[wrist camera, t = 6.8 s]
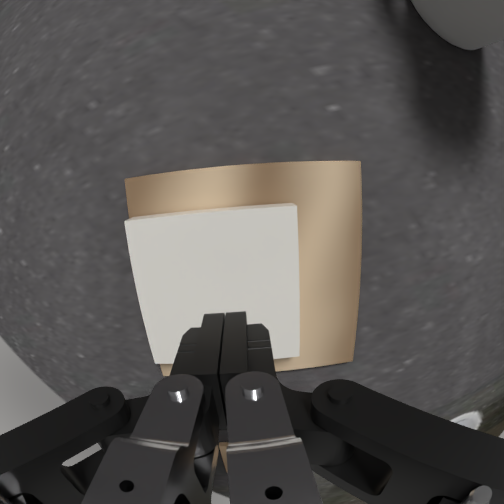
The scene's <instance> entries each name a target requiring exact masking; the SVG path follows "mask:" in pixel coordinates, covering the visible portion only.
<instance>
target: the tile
mask: <svg viewBox="0 0 504 504" xmlns="http://www.w3.org/2000/svg"><path fill="white" fill-rule="evenodd" d="M124 222H125V229H126V236H127V242H128V248H129V254H130V259H131V265H132V270H133V275H134V280H135V285H136V290H137V295H138V299H139V304H140V308H141V312H142V316H143V320H144V324H145V328H146V332H147V336H148V340H149V344H150V347H151V351H152V354H153V358H154V361H155V364H173V363H174V360H175V357H176V354H177V351H178V348H179V346H180V342H181V339H182V336H183V334H185V333H186V332H187V331H188V330H189V329H190V328H195V327H201V324H202V320H203V316H204V314H210V313H225V315H226V312H241V311H246V316H247V324H260V323H262V324H263V325H264V326H265V327H266V328H267V329H268V330H269V335H270V341H271V348H272V353H273V359H280V358H289V357H298V356H300V290H299V246H298V218H297V205H295V204H293V203H282V204H267V205H252V206H239V207H227V208H215V209H204V210H194V211H184V212H174V213H165V214H156V215H147V216H138V217H132V218H130V219H128V220H126V221H124Z"/></svg>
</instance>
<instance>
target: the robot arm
mask: <svg viewBox="0 0 504 504" xmlns="http://www.w3.org/2000/svg"><path fill="white" fill-rule="evenodd" d="M219 430H228V446H227V449H226V455H227V470H228V483H229V496H230V504H323V503H322V500H321V497H320V494H319V491H318V488H317V484H316V481H315V478H314V475H313V472H312V470H313V471H314V472H315V473H317V474H319V475H320V476H322V477H323V478H325V479H327V480H328V481H330V482H331V483H333V484H335V485H336V486H338V487H340V488H341V489H343V490H345V491H347V492H348V493H350V494H352V495H354V496H355V497H357V498H359V499H361V500H363V501H365V502H366V503H368V504H504V439H503V438H499V437H496V436H493V435H490V434H486V433H483V432H480V431H477V430H474V429H471V428H468V427H465V426H462V425H459V424H457V423H454V422H451V421H448V420H445V419H443V418H440V417H437V416H435V415H432V414H429V413H427V412H424V411H422V410H419V409H417V408H414V407H412V406H409V405H407V404H404V403H402V402H399V401H397V400H394V399H392V398H390V397H387V396H385V395H383V394H380V393H378V392H376V391H373V390H371V389H369V388H367V387H364V386H362V385H360V384H358V383H356V382H353V381H349V380H343V379H337V380H330V381H327V382H324V383H322V384H320V385H319V386H318V387H317V388H316V389H315V390H314V391H313V393H308V392H299V391H294V390H291V389H289V388H287V387H285V386H283V385H282V384H281V383H280V382H279V381H278V379H277V377H276V371H275V365H274V359H273V353H272V348H271V341H270V335H269V330H268V329H267V328H266V327H265V326H264V325H263V324H262V323H260V324H247V316H246V311H241V312H226V315H225V313H210V314H204V316H203V320H202V324H201V327H195V328H190V329H189V330H188V331H187V332H186V333H185V334H183V336H182V339H181V342H180V346H179V348H178V351H177V354H176V357H175V360H174V363H173V366H172V369H171V372H170V375H169V376H168V377H165V378H163V379H162V380H160V381H159V382H158V383H157V384H156V385H155V386H154V388H153V390H152V392H151V394H150V395H149V396H146V397H141V398H135V399H129V400H125V398H124V396H123V394H122V393H121V391H119V390H118V389H116V388H113V387H99V388H95V389H92V390H90V391H88V392H86V393H84V394H83V395H81V396H79V397H77V398H75V399H73V400H71V401H69V402H67V403H65V404H63V405H62V406H59V407H58V408H55V409H53V410H52V411H50V412H48V413H46V414H44V415H42V416H40V417H38V418H36V419H33V420H32V421H30V422H27V423H25V424H23V425H21V426H19V427H17V428H15V429H13V430H11V431H8V432H7V433H4V434H2V435H0V504H211V494H212V488H213V482H214V476H215V470H216V464H217V458H218V452H219V447H218V436H219ZM96 443H98V444H99V445H100V447H101V448H102V449H101V450H99V451H97V452H96V453H94V454H92V455H91V456H89V457H87V458H85V459H84V460H82V461H80V462H78V463H77V464H75V465H73V466H69V467H67V466H63V465H62V463H63V462H64V461H66V460H67V459H69V458H71V457H73V456H75V455H76V454H78V453H80V452H82V451H84V450H85V449H87V448H89V447H91V446H92V445H94V444H96Z"/></svg>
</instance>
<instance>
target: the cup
mask: <svg viewBox="0 0 504 504" xmlns="http://www.w3.org/2000/svg"><path fill="white" fill-rule="evenodd" d="M411 2H412V4H413V5H414V7H415V9H416V11H417V12H418V13H419V15H420V16H421V17H422V19H423V20H424V21H425V22H426V23H427V24H428V25H429V27H430V28H431V29H432V30H433V31H434V32H436V33H437V34H438V35H439V36H440V37H441V38H443V39H444V40H446V41H448V42H449V43H451V44H452V45H455V46H457V47H460V48H462V49H466V50H475V49H479V48H482V47H485V46H488V45H491V44H493V43H496V42H499V41H502V40H504V0H411Z"/></svg>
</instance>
